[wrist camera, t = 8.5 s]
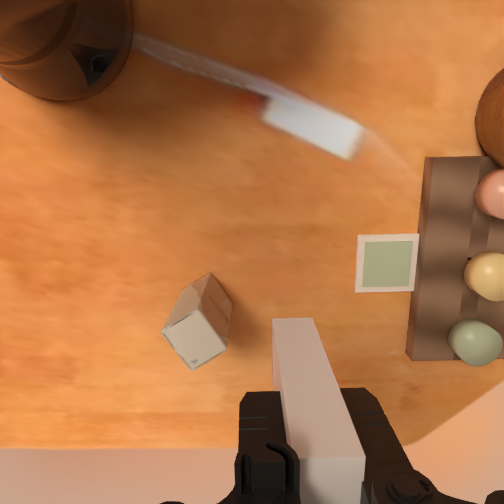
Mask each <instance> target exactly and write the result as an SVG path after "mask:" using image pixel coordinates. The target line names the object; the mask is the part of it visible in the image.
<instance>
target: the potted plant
mask: <svg viewBox="0 0 504 504" xmlns="http://www.w3.org/2000/svg"><path fill="white" fill-rule="evenodd" d="M475 120H476V130H477V137H478V140H479V142H480V144H481V145H482V147H483V149H484V151H485V153H486V154H487V156H491V157H492V158H493V159H494V161H496V162H497V163H498V164H500V165H501V166H502V167H503V168H504V68H503V69H502V70H501V71H500V72H499V73H497V75H496V76H495V77H494V78H493V79H492V80H491V81H490V82H489V83H488V85H487V87H486V89H485V90H484V92H483V94H482V96H481V99H480V101H479V105H478V109H477V113H476V117H475Z"/></svg>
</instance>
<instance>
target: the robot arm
mask: <svg viewBox="0 0 504 504" xmlns="http://www.w3.org/2000/svg"><path fill="white" fill-rule="evenodd" d="M132 35H133V17H132V10H131V5H130V1H129V0H0V77H2V78H3V79H4V80H5V81H7V82H8V83H10V84H11V85H13V86H15V87H17V88H18V89H20V90H22V91H24V92H27V93H29V94H32V95H35V96H39V97H43V98H47V99H51V100H56V101H75V100H80V99H84V98H87V97H90V96H92V95H95V94H97V93H98V92H100V91H102V90H103V89H104V88H106V87H107V86H108V85H109V84H110V83H111V82H112V81H113V80H114V79H115V78H116V77H117V75H118V74H119V73H120V71H121V69H122V68H123V66H124V64H125V62H126V60H127V57H128V54H129V51H130V47H131V43H132ZM272 371H273V390H274V391H263V392H247V393H246V394H245V396H244V397H243V399H242V401H241V402H240V409H239V446H238V453H237V456H236V460H235V463H234V465H235V486H234V488H233V490H232V491H231V492H230V494H229V495H228V496H227V497H226V498H225V499H223V500H222V501H221V502H219V503H217V504H476V503H472V502H468V501H464V500H460V499H457V498H453V497H450V496H447V495H444V494H442V493H441V492H439V491H438V490H437V489H436V487H435V486H434V485H433V484H432V482H431V481H430V480H429V479H428V478H427V477H425V476H424V475H422V474H421V473H420V472H419V471H416V470H414V469H413V467H412V465H411V463H410V462H409V460H408V458H407V456H406V454H405V452H404V450H403V448H402V446H401V444H400V442H399V440H398V438H397V436H396V434H395V433H394V431H393V429H392V427H391V425H390V424H389V421H388V419H387V417H386V415H385V414H384V411H383V409H382V407H381V406H380V404H379V402H378V400H377V398H376V397H374V396H373V395H372V394H371V393H370V392H369V391H368V390H366V389H365V388H339V386H338V384H337V381H336V378H335V376H334V373H333V371H332V368H331V365H330V363H329V360H328V358H327V355H326V352H325V350H324V347H323V345H322V342H321V339H320V337H319V334H318V332H317V329H316V326H315V324H314V321H313V319H312V317H310V318H272ZM161 504H184V503H181V502H175V501H173V502H171V501H166V502H163V503H161ZM485 504H504V490H498V491H494V492H492V493H491V494H489V495H488V496H487V498H486V501H485Z"/></svg>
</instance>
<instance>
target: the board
mask: <svg viewBox="0 0 504 504" xmlns="http://www.w3.org/2000/svg"><path fill="white" fill-rule="evenodd" d="M502 168H503V167H502V166H501V165H500V164H498V163H497V162H496V161H494V159H493V158H492V157H491V156H462V157H425V164H424V174H423V184H422V194H421V203H420V213H419V223H418V234H419V243H418V253H417V263H416V272H415V282H414V291H412V293H411V303H410V313H409V323H408V332H407V342H406V354H407V355H408V356H409V358H410V359H411V360H412V361H431V360H462V359H461V358H460V357H459V356H458V355H457V354H456V353H455V352H454V351H453V350H452V349H451V348H450V346H449V343H448V336H449V333H450V331H451V329H452V328H453V327H454V325H456V324H457V323H458V322H460V321H462V320H464V319H468V318H476V319H479V320H482V321H483V322H484V323H486V324H487V325H489V326H490V327H491V328H493V329H494V330H495V331H497V332H498V333H499V334H500V336H501V338H502V342H503V346H502V350H501V352H500V354H499V355H498V357H497V358H496V359H504V300H503V301H491V300H488V299H486V298H484V297H483V296H481V295H480V294H478V293H476V292H475V291H473V290H472V289H470V288H469V287H468V286H467V284H466V282H465V279H464V271H465V268H466V264H467V258H473V257H474V256H475V255H477V254H478V253H480V252H483V251H488V250H493V251H497V252H500V253H502V254H504V219H501V218H497V217H494V216H490V215H487V214H485V213H483V212H482V211H481V210H480V209H479V207H478V206H477V203H476V199H475V194H476V189H477V186H478V181H481V180H482V178H483V177H484V176H486V175H487V174H488V173H490V172H491V171H493V170H496V169H502Z"/></svg>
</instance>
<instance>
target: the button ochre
mask: <svg viewBox="0 0 504 504" xmlns="http://www.w3.org/2000/svg"><path fill="white" fill-rule="evenodd" d="M464 279H465V282H466V284H467V286H468V287H469V288H470V289H472V290H473V291H475V292H476V293H478V294H480V295H481V296H483V297H484V298H486V299H488V300H491V301H503V300H504V254H502V253H500V252H497V251H493V250H488V251H483V252H480V253H478V254H477V255H475V256H474V257H473V258H472V259H471V260H470V261H469V262H468V264H467V265H466V268H465V271H464Z"/></svg>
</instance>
